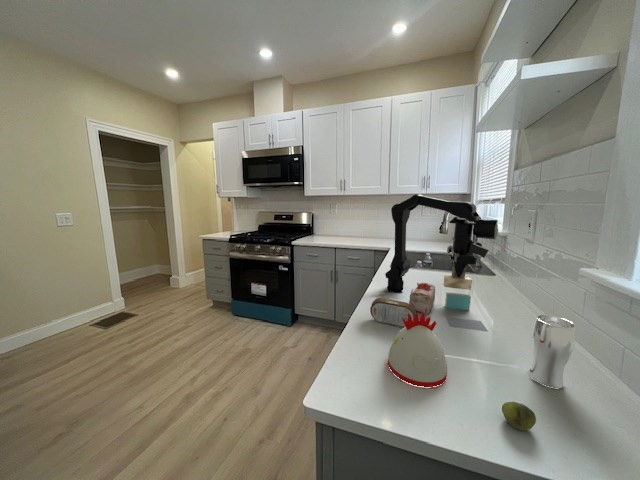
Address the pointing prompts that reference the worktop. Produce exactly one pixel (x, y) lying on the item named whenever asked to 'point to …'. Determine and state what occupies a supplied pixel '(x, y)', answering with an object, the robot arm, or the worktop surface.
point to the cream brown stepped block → (457, 281)
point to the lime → (519, 415)
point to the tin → (391, 311)
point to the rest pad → (466, 323)
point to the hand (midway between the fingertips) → (457, 275)
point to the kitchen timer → (418, 353)
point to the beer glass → (551, 349)
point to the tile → (457, 301)
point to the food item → (423, 297)
